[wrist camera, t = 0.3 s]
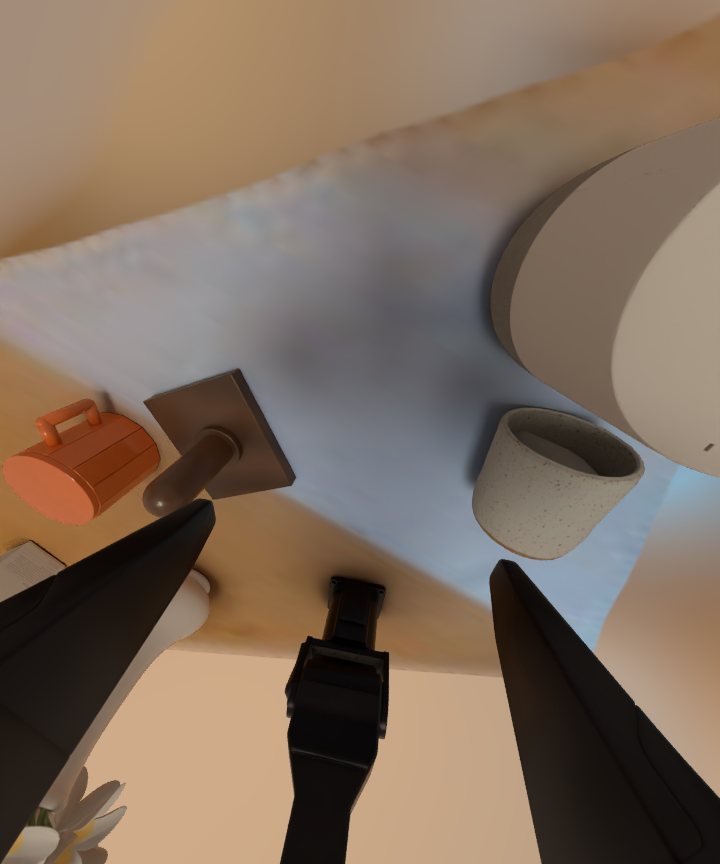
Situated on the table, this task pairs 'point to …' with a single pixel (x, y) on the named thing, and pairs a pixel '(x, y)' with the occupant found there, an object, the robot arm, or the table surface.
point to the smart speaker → (627, 294)
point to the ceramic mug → (550, 481)
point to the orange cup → (81, 464)
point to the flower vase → (80, 820)
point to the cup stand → (214, 444)
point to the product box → (25, 568)
